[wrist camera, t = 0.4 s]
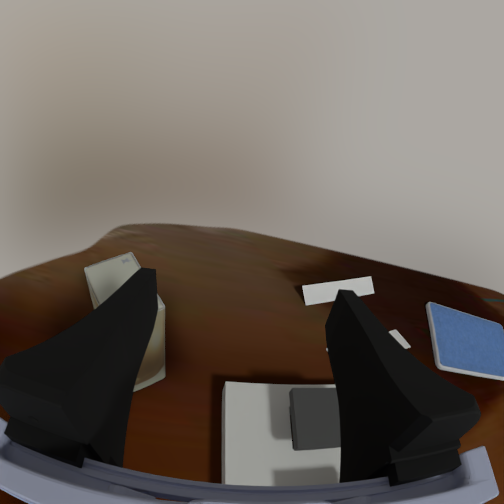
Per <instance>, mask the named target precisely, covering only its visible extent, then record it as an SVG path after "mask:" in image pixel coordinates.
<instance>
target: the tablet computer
mask: <svg viewBox="0 0 504 504" xmlns="http://www.w3.org/2000/svg"><path fill="white" fill-rule="evenodd" d="M426 311H427V316H428V322H429V327H430V333H431V339H432V346H433V352H434V359H435V364H436V366H437V368H438V369H440V370H445V371H451V372H456V373H462V374H468V375H473V376H479V377H485V378H491V379H496V380H503V381H504V331H503V327H502V326H501V325H500V324H499V323H496V322H492V321H489V320H486V319H483V318H479V317H476V316H473V315H470V314H467V313H463V312H460V311H457V310H454V309H451V308H448V307H445V306H442V305H438V304H435V303H432V302H428V303H427V304H426Z"/></svg>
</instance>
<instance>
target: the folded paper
mask: <svg viewBox="0 0 504 504" xmlns="http://www.w3.org/2000/svg"><path fill="white" fill-rule="evenodd" d="M302 288H303V294H304V299H305V304H306V305H312V304H318V303H324V302H329V301H335V298H336V295H337V293H338V290H339V289H343V290H353V291H354V292H355V293H356V294H357V296H362V295H367V294H373V293H374V289H373V284H372V279H371V276H370V277H363V278H356V279H349V280H342V281H335V282H327V283H320V284H312V285H305V286H302ZM389 333H390V334H391V335H392V336H393V337H394V338H395V339H396V340H397V341H398V342H399V343H400V344H401V345H402V346H403V347H404V348H405V349H407V348H409V347H411V346H410V345H409V344H408V343H407V342H406V341H405V339H404V338H403V337H402V336H401V335H400V333H399V332H398V331H397V330H393V331H389ZM326 350H327V351H328V349H327V348H326Z"/></svg>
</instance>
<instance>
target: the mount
mask: <svg viewBox="0 0 504 504" xmlns="http://www.w3.org/2000/svg"><path fill="white" fill-rule="evenodd" d="M292 388H336V386H335V384H333V385H288V384H259V383H241V382H227V381H226V382H225V385H224V388H223V391H222V484H230V485H247V486H305V485H322V484H335V483H339V479H340V458H341V447H338V448H328V449H316V450H301V451H294V449H293V448H292V436H291V424H290V415H291V410H290V399H289V391H290V390H291V389H292Z"/></svg>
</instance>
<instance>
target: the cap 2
mask: <svg viewBox="0 0 504 504" xmlns="http://www.w3.org/2000/svg"><path fill="white" fill-rule="evenodd" d="M289 399H290V410H291V421H292V432H293V443H294V451H301V450H316V449H328V448H338V447H341V438H340V417H339V404H338V397H337V391H336V388H292V389H291V390H290V391H289Z"/></svg>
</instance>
